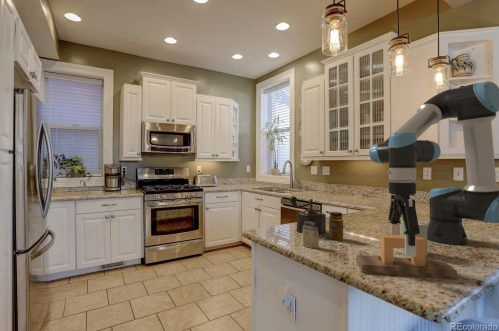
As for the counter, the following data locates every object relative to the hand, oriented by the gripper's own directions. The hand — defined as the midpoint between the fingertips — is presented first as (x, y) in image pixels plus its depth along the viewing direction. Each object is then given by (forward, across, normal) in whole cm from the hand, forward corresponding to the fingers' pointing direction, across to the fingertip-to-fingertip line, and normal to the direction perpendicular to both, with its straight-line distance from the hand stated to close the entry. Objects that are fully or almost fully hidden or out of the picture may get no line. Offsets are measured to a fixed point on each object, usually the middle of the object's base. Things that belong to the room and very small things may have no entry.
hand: (402, 249), depth 85 cm
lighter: (+7, -20, -28) cm, 35 cm away
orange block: (+7, 0, 0) cm, 7 cm away
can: (+7, -19, +10) cm, 22 cm away
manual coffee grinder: (+7, -43, -29) cm, 52 cm away
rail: (+7, 0, 0) cm, 7 cm away
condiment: (+7, -33, -17) cm, 38 cm away
